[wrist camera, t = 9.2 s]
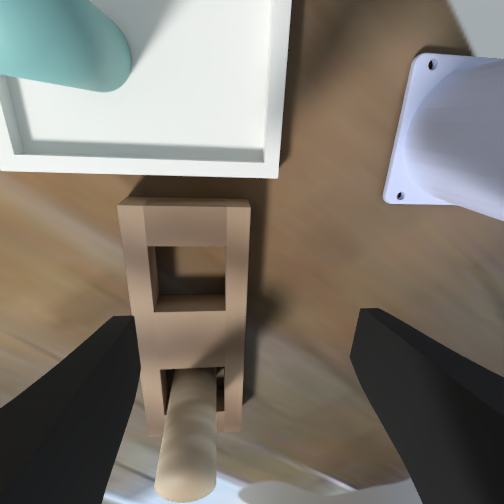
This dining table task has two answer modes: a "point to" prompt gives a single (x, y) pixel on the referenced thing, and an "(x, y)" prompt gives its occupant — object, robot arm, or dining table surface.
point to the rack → (187, 299)
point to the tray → (164, 97)
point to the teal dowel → (63, 44)
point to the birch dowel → (189, 437)
